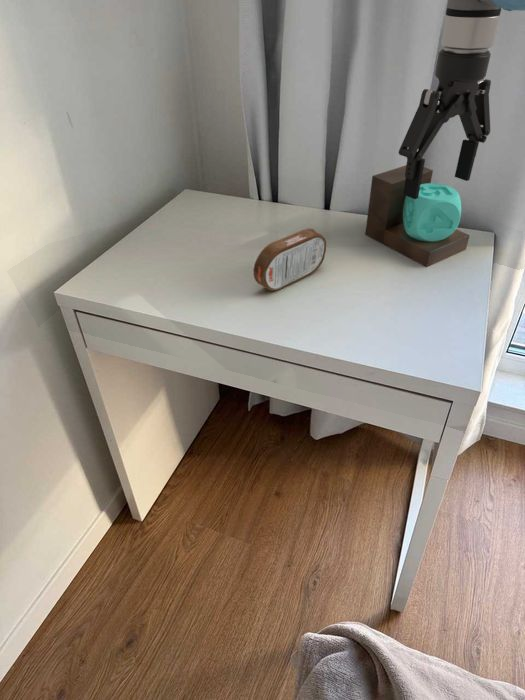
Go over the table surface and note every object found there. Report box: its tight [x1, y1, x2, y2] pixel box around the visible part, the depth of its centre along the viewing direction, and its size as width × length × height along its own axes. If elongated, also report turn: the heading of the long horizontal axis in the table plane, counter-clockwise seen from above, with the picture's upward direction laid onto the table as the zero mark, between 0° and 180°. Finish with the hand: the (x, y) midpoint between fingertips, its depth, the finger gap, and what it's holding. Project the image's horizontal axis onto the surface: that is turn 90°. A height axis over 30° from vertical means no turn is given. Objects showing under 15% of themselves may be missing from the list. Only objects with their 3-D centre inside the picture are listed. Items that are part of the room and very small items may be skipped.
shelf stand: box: [364, 164, 470, 268], centre depth 94 cm, size 16×11×12 cm
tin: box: [253, 227, 327, 292], centre depth 85 cm, size 15×3×8 cm, turn 130°
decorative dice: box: [403, 182, 462, 242], centre depth 92 cm, size 8×8×8 cm
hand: (436, 187), depth 88 cm, fingers open, 13 cm apart
